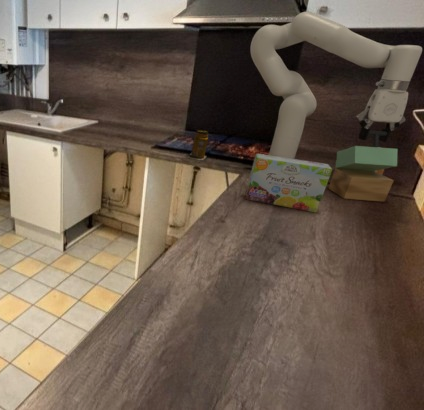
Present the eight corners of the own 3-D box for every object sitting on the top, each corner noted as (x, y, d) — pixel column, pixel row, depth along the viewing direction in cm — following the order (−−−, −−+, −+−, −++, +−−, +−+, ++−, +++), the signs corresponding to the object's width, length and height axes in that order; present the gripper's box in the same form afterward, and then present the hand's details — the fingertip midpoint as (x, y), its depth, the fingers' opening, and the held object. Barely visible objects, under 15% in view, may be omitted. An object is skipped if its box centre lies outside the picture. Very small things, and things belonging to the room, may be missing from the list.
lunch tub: (335, 168, 132) (336, 136, 133) (374, 171, 131) (375, 139, 132) (356, 162, 122) (357, 128, 122) (398, 165, 121) (399, 131, 122)
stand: (328, 188, 135) (335, 168, 132) (366, 191, 135) (374, 171, 131) (343, 198, 126) (351, 177, 123) (384, 201, 126) (393, 180, 122)
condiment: (206, 156, 166) (211, 131, 162) (202, 160, 160) (208, 134, 155) (190, 153, 170) (195, 128, 165) (186, 157, 163) (191, 131, 158)
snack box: (245, 200, 120) (256, 156, 113) (244, 194, 124) (255, 152, 118) (317, 213, 113) (333, 167, 107) (313, 206, 118) (329, 162, 111)
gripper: (373, 85, 114) (352, 141, 122) (429, 89, 113) (405, 144, 121) (358, 83, 121) (340, 136, 128) (411, 86, 120) (390, 139, 127)
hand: (372, 139), depth 124 cm, fingers closed on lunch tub, 6 cm apart
